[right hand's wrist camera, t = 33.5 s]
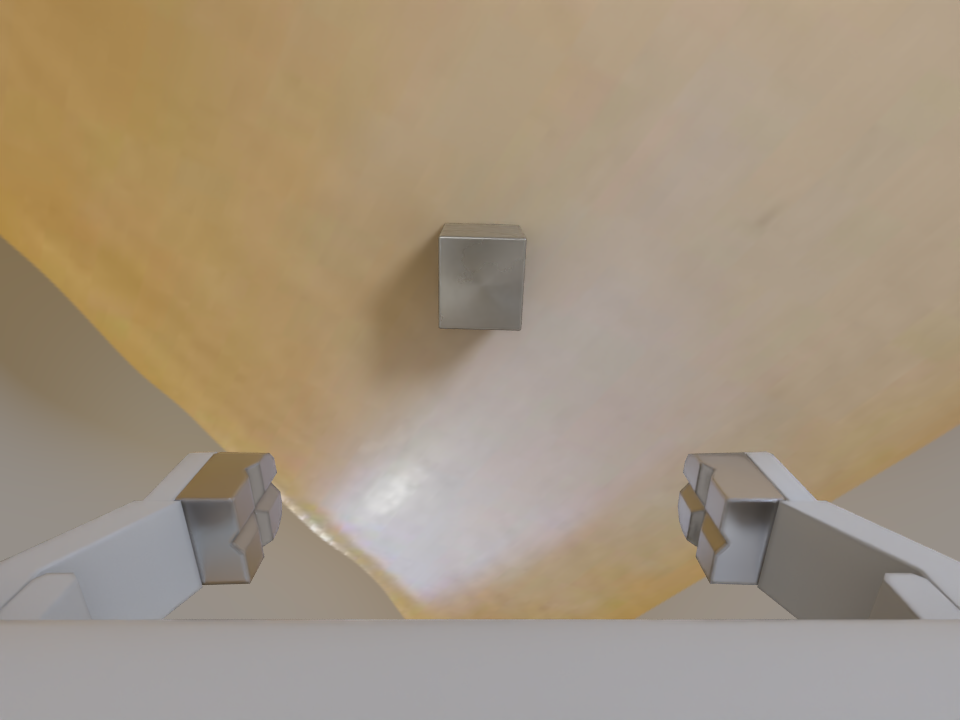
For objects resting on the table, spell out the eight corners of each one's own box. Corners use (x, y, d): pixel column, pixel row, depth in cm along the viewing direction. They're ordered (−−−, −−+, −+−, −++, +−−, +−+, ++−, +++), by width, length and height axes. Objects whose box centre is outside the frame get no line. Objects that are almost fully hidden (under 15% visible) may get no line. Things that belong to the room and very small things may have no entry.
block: (444, 304, 30) (438, 329, 26) (444, 222, 29) (438, 235, 25) (515, 306, 31) (521, 331, 26) (520, 224, 29) (526, 238, 25)
